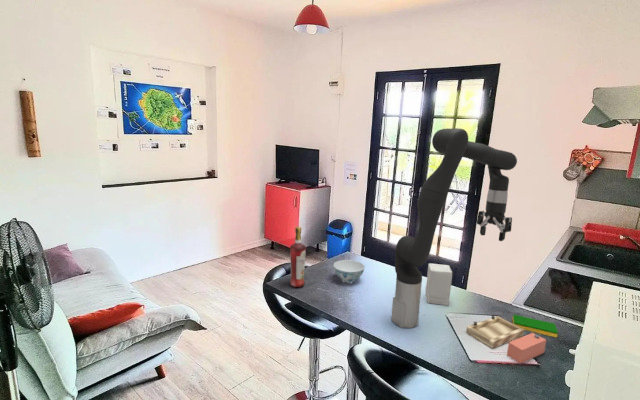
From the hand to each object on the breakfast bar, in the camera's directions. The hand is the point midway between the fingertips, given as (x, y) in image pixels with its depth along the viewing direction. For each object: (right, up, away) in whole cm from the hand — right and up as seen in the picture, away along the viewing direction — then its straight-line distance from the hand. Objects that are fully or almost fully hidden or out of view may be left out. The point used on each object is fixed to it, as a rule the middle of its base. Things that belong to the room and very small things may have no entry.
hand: (491, 237), depth 144 cm
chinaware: (-59, -23, +21) cm, 67 cm away
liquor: (-84, -24, +14) cm, 88 cm away
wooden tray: (-10, -33, -21) cm, 40 cm away
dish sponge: (+8, -33, -16) cm, 37 cm away
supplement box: (-22, -28, +4) cm, 36 cm away
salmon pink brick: (-5, -35, -32) cm, 48 cm away
